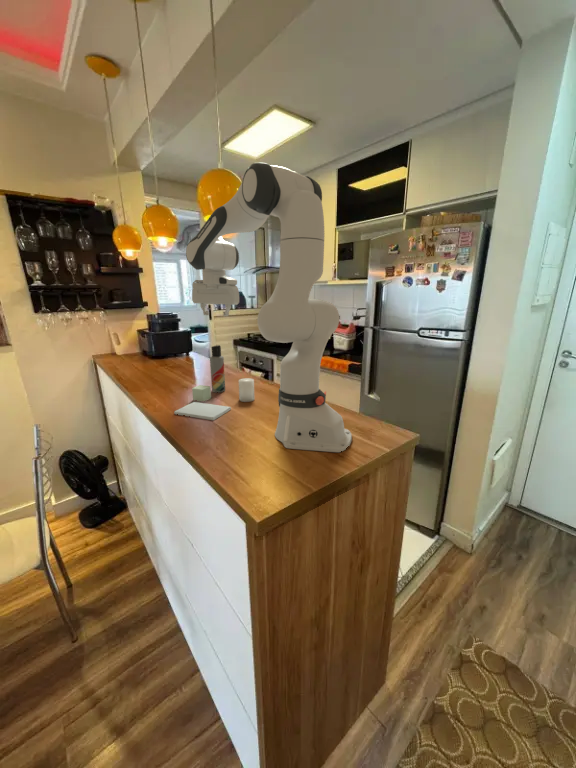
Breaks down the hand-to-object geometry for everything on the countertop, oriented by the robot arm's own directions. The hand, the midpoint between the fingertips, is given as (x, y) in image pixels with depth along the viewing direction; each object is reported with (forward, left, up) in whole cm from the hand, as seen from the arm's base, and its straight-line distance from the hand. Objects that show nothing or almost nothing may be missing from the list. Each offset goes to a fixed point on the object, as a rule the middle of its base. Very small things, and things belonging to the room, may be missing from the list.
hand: (216, 315), depth 125 cm
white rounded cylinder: (-16, +6, -32) cm, 36 cm away
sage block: (+1, +12, -32) cm, 34 cm away
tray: (-8, +24, -32) cm, 41 cm away
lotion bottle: (+1, 0, -32) cm, 32 cm away
